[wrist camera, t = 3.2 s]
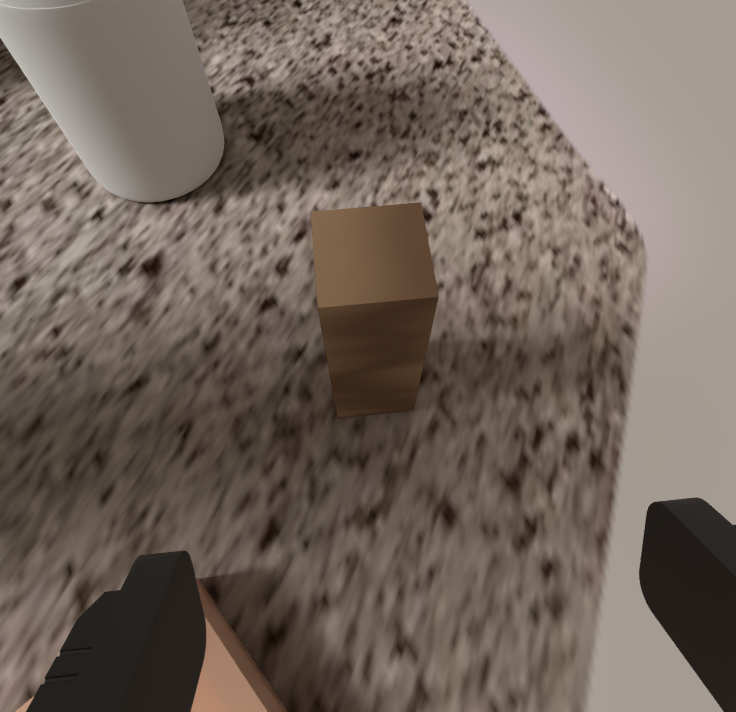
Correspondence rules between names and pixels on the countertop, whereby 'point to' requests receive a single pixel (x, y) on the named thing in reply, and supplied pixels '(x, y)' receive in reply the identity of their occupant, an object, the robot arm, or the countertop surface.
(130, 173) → the pill bottle
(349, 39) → the countertop surface
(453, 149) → the countertop surface
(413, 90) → the countertop surface
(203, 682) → the shallow salmon tray
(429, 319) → the tall wooden block
